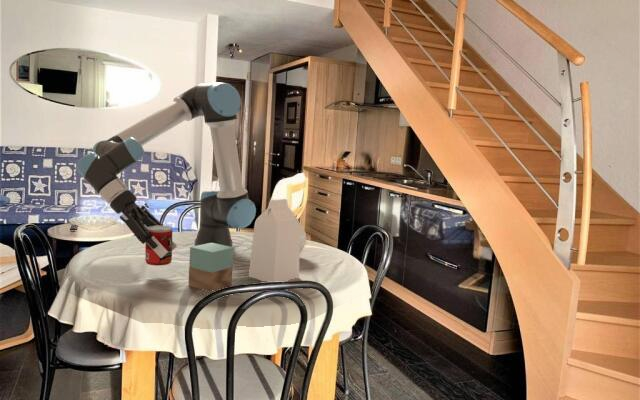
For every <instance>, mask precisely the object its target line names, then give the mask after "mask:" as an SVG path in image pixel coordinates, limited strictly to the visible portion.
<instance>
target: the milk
mask: <svg viewBox="0 0 640 400" xmlns="http://www.w3.org/2000/svg"><path fill="white" fill-rule="evenodd" d="M300 225H301V223H300V220H299V219H298V217H297V216H296V215H295V214H294V212H293V210H291V208H290V206H289V203H288V200H287V198H274V199H273V198H271V199H270V202H269V203H268V207H267V208H266V209H265V210H264V211H263V212H262V213H261V214H260V215H259V216H258V217H257V218H256V220H255V222H254V226H253V235H252V244H251V252H250V262H249V269H248V270H249V271H248V277H250V278H251V279H256V280H259V281H262V282H264V281H286V282H288V280H290V279H293V280H295V279H294V278H297V279H300V255H301V253H300ZM290 281H291V280H290Z"/></svg>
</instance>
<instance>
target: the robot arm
mask: <svg viewBox="0 0 640 400" xmlns="http://www.w3.org/2000/svg"><path fill="white" fill-rule="evenodd" d="M241 103H242V100H241V95H240V93H239V91H238V90H237V88H236V87H234V86H233V85H232V84H230V83H226V82H219V81H218V82H210V83H200V84H197V85H194V86H193V87H191V88H189V89H188V90H186V91H184V92H183V93H181V94H179V95H178V96H176V97H174V98H173V102H171V103H169V104H167V105H166V106H164V107H163V108H161V109H159V110H157V111H155V112H153V113H152V114H151V115H148V116H146V117H145V118H143V119H141V120H140V121H138V122H136V123H135V124H132V125H131V126H129V127H127V128H125V129H124V130H122V131H120V132H119V133H117V134H115V135H113V136H111V137H110V138H108V139H106V140H99V141H98V142H96V143H95V144H94V145H93V146H92V152H90V153H87V154H85V155H84V156H82V157H81V158H80V159H79V160H78V161H77V162H76V164H75V168H76V171H77V172H78V173H79V174H80V175H81V176H82V178H83V180H85V181H86V182H87V183H88V185H90V186H91V188H92V189H93V190H94V191H95V192H96V193H97V194H98V195H99V196H100V197H101V200H103V201H105V202H106V203H107V204H109V207H110V208H111V209H112V210H113V212H114V213H115V214H117V215H118V214H121V215H120V216H119V219H120V220H121V221H122V222H124V224H125V225H126V226H127V227H128V228H129V230H130V231H131V232H132V233H133V235H134V236H135V238H137V240H138V241H139V242H140V243H141V244H142V245H144V244H145V243H147V244H148V245H149V246H150V247H151V248H152V249H153V250H154V251H155V252H156V253H157V255H158V256H159V257H160V258H162V257H163V256H164V255H165V254H167V253H168V251H167V250H166V249H165V248H164V247H163V246H162V245H161V244H160V243H159V241H158V240H157V239H156V238H155V237H154V236H153V237H151V235H150V233H149V232H148V230H147V228H146V227H149V226H158V225H159V226H164V225H163V224H162V222H160V220H159V219H157V218H156V217H155V216H154V215H153V214H152V213H151V212H150V211H149V210H148V209H147V208H146V206H145V205H142V206H141V207H140V206H139V205H138V204H136V201H137V199H138V198H137V196H136V195H135V194H134V193H133V192H132V191H131V190H130V189H129V188H128V186H127V185H126V184H125V182H123V181H122V180H121V179H120V178H119V176H117V175H119V174H121V173H122V172H124V171H125V170H127V169H128V168H129V167H131V166H133V165H134V164H135V163H137V162H139V161H140V160H141V159H143V158H144V156H145V150H144V148H143V146H144V145H146V144H149V142H151V141H153V140H154V139H156V138H158V137H159V136H161V135H163V134H164V133H166V132H168V131H170V130H171V129H173V128H175V127H176V126H178V125H180V124H181V123H183V122H185V121H187V122H189V121H192V120H193V119H195V118H197V117H198V118H199V117H203V119H204V123H205V124H206V125H207V126H209V129H210V135H211V137H210V138H211V141H212V148H213V154H214V161H215V167H216V175H217V179H218V180H217V181H218V185H219V190H204V191H202V192H201V195H200V200H199V201H200V204H199V207H200V209H199V212H200V213H199V228H198V231H197V233H196V238H195V239H194V246H197V245H202V244H207V243H216V244H220V245H225V246H229V247H233V244H234V243H233V239H232V237H231V232H230V231H231V230H230V228H231V229H240V230H242V229H245V228H247V227H248V226H250V225H251V224H252V222H253V220H254V219H255V217H256V213H257V208H256V205H255V202H253V201H252V200H251V199H249V193H248V190H247V189H246V188H245V187H243V185H244V184H243V179H242V173H241V166H240V160H239V159H240V158H239V151H238V145H237V136H236V131H235V130H236V129H235V125H234V124H235V123H236V121H237V120H238V116H237V114H238V113H239V109H241V105H242V104H241ZM177 247H178V245H177V243H176V242H175V241H174V240H173V239H172V252H173V251H174V250H175V249H176V248H177Z"/></svg>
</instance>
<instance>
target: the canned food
mask: <svg viewBox="0 0 640 400" xmlns="http://www.w3.org/2000/svg"><path fill="white" fill-rule="evenodd" d="M145 227H146V228H147V230H148V232H149V233H150V235H151V237H153V236H154V237H155V238H156V239H157V240H158V241H159V243H160V244H161V245H162V246H163V247H164V248H165V249H166V250H167V251H168V253H167V254H165V255H164V256H163V257H162V258H160V257H159V256H158V255H157V253H156V252H155V251H154V250H153V249H152V248H151V247H150V246H149V245H148V244H147V243H146V242H145V243H144V244H145V249H144V250H145V258H144V259H145V263H146V264H147V265H149V266H159V267H160V266H167V265H170V264H171V263H172V260H173V259H172V257H173V251H172V240H173V227H172V226H169V225H163V226H159V225H158V226H149V227H147V226H145Z"/></svg>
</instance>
